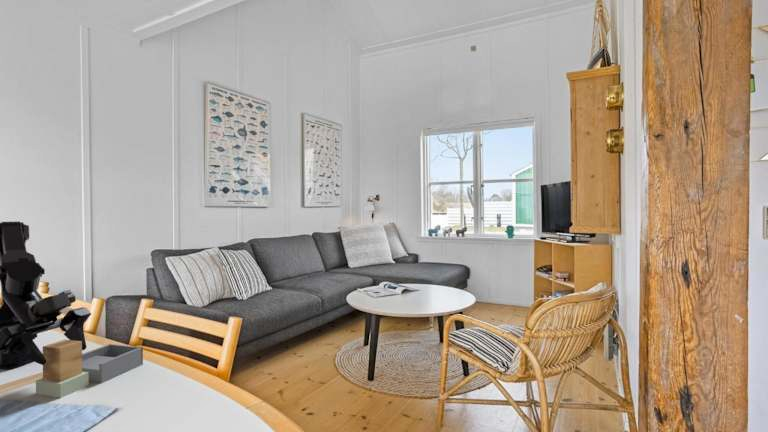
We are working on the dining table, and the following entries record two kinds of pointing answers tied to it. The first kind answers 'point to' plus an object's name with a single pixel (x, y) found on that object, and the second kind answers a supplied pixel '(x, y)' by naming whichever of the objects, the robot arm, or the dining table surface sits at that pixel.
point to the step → (62, 385)
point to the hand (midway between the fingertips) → (65, 355)
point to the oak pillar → (62, 360)
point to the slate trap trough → (111, 361)
